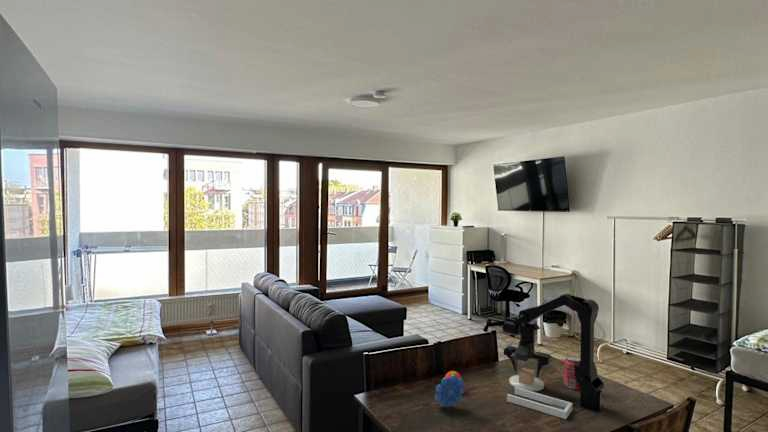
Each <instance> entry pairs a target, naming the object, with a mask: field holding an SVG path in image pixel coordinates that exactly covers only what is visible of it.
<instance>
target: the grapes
mask: <svg viewBox="0 0 768 432" xmlns="http://www.w3.org/2000/svg"><path fill="white" fill-rule="evenodd" d="M435 392H436V393H435V395H434V400H435V402H436V401H437V402H438V403H439V406H440V407H442V408H443V407H445V406H447V407H448V408H452V407H454V405H455V403H459V402H461V401H462V399H463V397H462V395H463V394H464V393H465V392H466V387H465V386H464V379H463V378H462V377H461V378H459V379H457V376H456V375H452V376H450V378H449V379H448V378H447V377H445V376H444V377H443V378H442V379H441V381H440V383H438V384H437V385H436V386H435Z"/></svg>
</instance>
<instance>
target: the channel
mask: <svg viewBox="0 0 768 432" xmlns="http://www.w3.org/2000/svg"><path fill="white" fill-rule="evenodd" d="M519 396H520V397H519ZM522 397H524V398H522ZM530 399H531V400H530ZM537 401H538V402H537ZM506 402H508V403H512V404H515V405H518V406H521V407H525V408H528V409H531V410H534V411H537V412H541V413H544V414H547V415H551V416H554V417H558V418H560V419H563V420H567V418H568V417H569V415H570V414H571V412H572V411H573V402H570V401H567V400H563V399H561V398H555V397H552V396H549V395H545V394H542V393H538V392H536V391H528V390H525V389H521V388H517V387H514V395H513V394H510V393H507V394H506ZM540 402H541V403H540ZM543 403H544V404H543ZM546 404H547V405H546Z"/></svg>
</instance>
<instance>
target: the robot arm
mask: <svg viewBox="0 0 768 432" xmlns="http://www.w3.org/2000/svg"><path fill="white" fill-rule="evenodd" d="M563 306H565V307H567V308H568V309H570V310H572V311H574V312H576V314H577V315H576V316H577V318H578V321H579V323H580V357H579V358H580V362H579V363H578V364H576V365H575V366H574V369H575V374H574V376H576V381H577V382H578V383H579V385H580V388H579V389H580V399H579V403H580V407H581V408H584V409H588V410H590V411H595V412H601V409H602V407H603V402H602V399H603V397H602V396H603V395H602V394H603V391H602V390H603V389H604V387H605V383H604V382H603V381H602V379H601V378H600V377H599V376H598V375H599V374H598V369H597V366H596V364H595V362H594V360H595V359H594V356H595V355H594V349H595V348H594V347H595V346H594V345H595V341H594V339H595V323H596V320H597V318H598V315H599V311H600V310H599V308H600V307H599V304H598V303H597V302H596V301H595V300H594V299H591V298H590V299H587V298H583V297H579V296H576V295H573V294H570V293H563V294H561V295H559V296H558V297H555V298H553V299H550V300H549V301H547V302H544V303H542V304H540V305H536V306H531V307H526V308H525V309H521V310H519V312H518V316H517V317H516V318H511V317H505V319H504V320H505V321H503V325H502V331H503V333H505V334H507V335H513V336H520V339H519V343H518V346H514V345H513V346H512V345H507V346H506V347H505V348H504V349H503V355H505V356H506V358H508V359H509V360H510V361H511V363H512V367H513V371H514V372H515V373H518V361H519V360H520V361H523V362H527V361H528V360H529V359H531V360H532V359H535V360H537V363H536V364H537V367H536V368H537V370H536V378H538V379H539V377H540V375H541V372H542V370H543V369H544V368H543V367H545V366H546V365H547V366H548V365H550V363H551V362H552V361H553V360H552V359H553V358H552V355H551V354H549V353H545V352H541V353H540V354H537V353H536V349H535V346H536V345H535V343H536V339H535V337H536V336H535V335H536V333H535V332H536V331H538V330H540V329H541V327H540V326H539V325H538V324H537V323H533V324H532V322H534V321H536V320H538V319H539V318H540V317H543V315H545V314H547V313H549V312H551V311H553V310H556V309H558V308H560V307H563Z"/></svg>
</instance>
